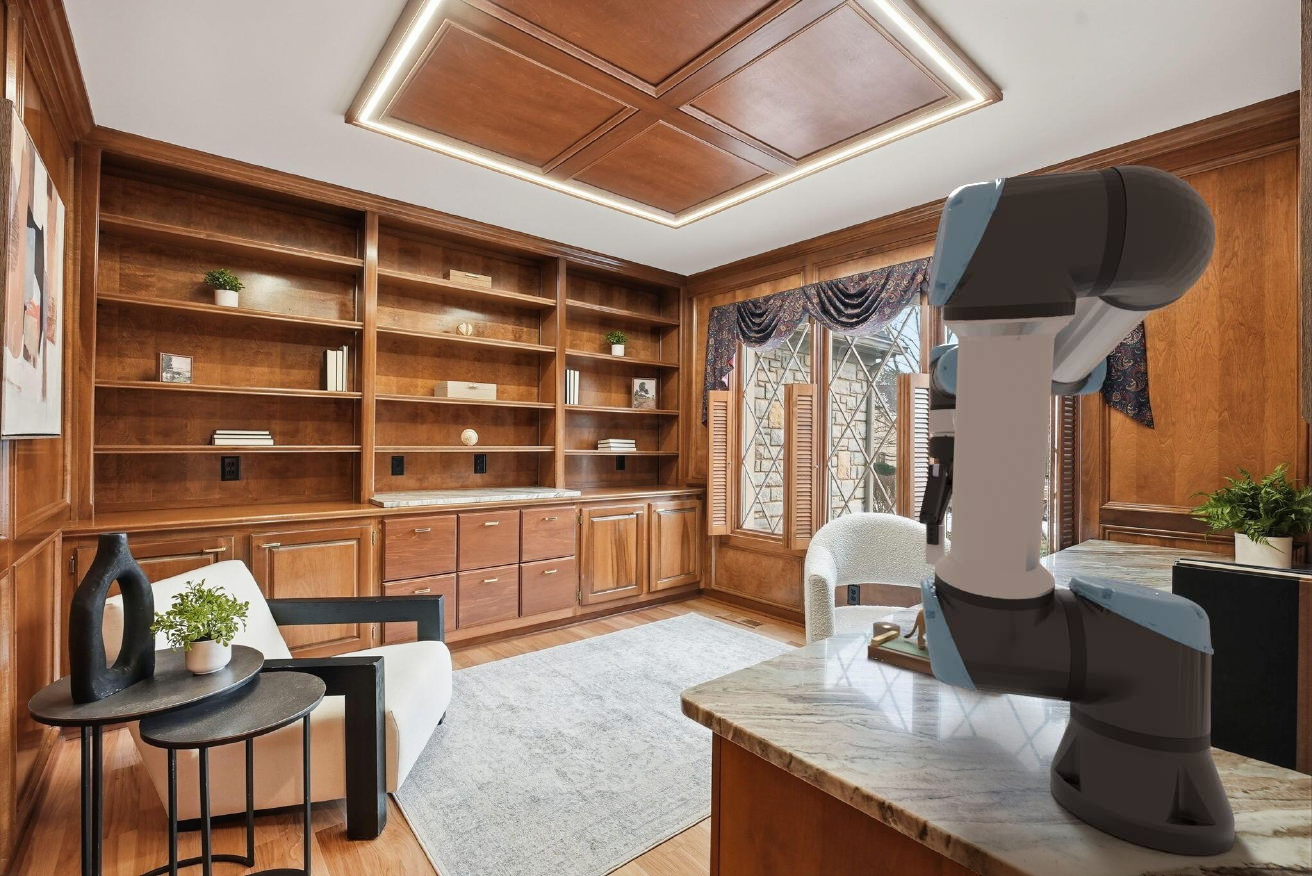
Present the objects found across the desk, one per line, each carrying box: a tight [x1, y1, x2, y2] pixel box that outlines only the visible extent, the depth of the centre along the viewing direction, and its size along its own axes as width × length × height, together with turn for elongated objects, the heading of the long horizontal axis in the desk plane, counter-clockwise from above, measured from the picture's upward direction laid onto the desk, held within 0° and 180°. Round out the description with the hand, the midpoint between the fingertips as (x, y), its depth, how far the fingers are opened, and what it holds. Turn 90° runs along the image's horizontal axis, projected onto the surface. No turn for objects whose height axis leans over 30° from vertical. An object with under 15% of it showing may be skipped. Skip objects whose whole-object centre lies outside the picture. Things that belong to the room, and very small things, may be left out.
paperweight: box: [872, 621, 901, 638], centre depth 122 cm, size 5×5×3 cm
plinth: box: [867, 631, 934, 676], centre depth 108 cm, size 10×21×3 cm, turn 43°
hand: (951, 560), depth 106 cm, fingers open, 13 cm apart
